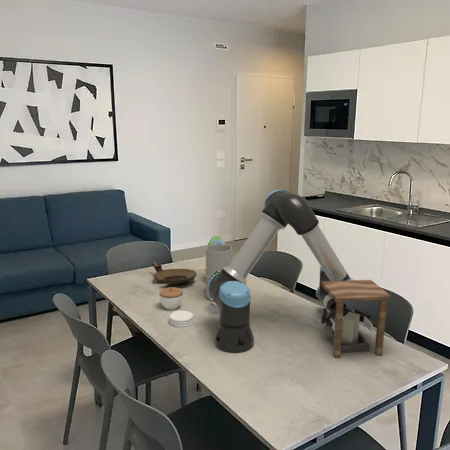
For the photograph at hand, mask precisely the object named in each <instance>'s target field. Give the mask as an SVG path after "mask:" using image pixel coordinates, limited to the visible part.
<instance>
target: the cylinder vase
mask: <svg viewBox="0 0 450 450" xmlns="http://www.w3.org/2000/svg"><path fill="white" fill-rule="evenodd" d="M232 261H233V247H232V246H231V245H227V244H225V245H222V244H216V245H210V246H208V245H207V246H205V265H206V272H205V284H206V285H205V291H206V292H205V293H206V294H205V295H206V298H207V299H208V300H209V301H212V300H211V297H210V294H209V291H208V282H209V279H210V278H211V276H212V274H213V273H214V272H216V271H221V270H222V269H223V267H228V266H229V265H230V264H231V262H232Z"/></svg>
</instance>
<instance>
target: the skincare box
mask: <svg viewBox="0 0 450 450" xmlns="http://www.w3.org/2000/svg"><path fill="white" fill-rule="evenodd" d="M359 318H360V315H358V314H355V313H352V312H349V313H347V314H346V315H345V316H344V317H343V322H342V337H341V342H342V343H343V344H351V343H359V342H358V331H359V330H360V329H359V328H360V321H359Z"/></svg>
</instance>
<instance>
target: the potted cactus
mask: <svg viewBox="0 0 450 450" xmlns="http://www.w3.org/2000/svg"><path fill="white" fill-rule="evenodd" d="M216 244H222V245H226V242H225V241H224V239H223V238H222V237H221V236H220V235H214V236H212V237H211V238H210V240H209V242H208V245H207V246H210V245H216ZM203 271H204V272H205V273H206V264H205V265H203Z"/></svg>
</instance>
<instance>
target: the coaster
mask: <svg viewBox="0 0 450 450" xmlns="http://www.w3.org/2000/svg"><path fill="white" fill-rule="evenodd" d="M193 323H194V314H193V313H192V312H191V311H187V310H176V311H173V312H171V313H170V315H169V324H170V325H171V326H172V327H175V326H177V328H185V327H184V326H186V327H189V326H191V325H192V324H193ZM188 325H189V326H188Z"/></svg>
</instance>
